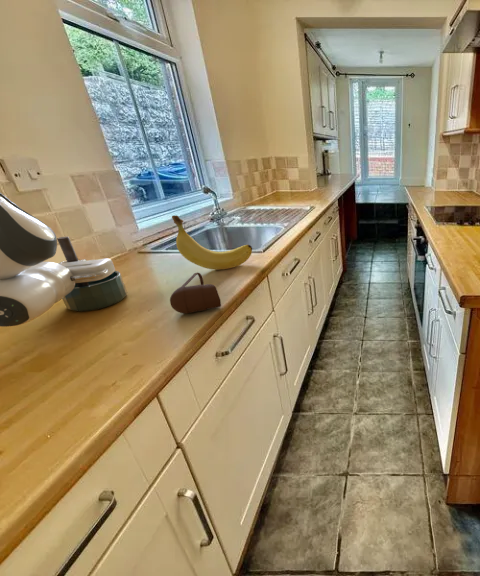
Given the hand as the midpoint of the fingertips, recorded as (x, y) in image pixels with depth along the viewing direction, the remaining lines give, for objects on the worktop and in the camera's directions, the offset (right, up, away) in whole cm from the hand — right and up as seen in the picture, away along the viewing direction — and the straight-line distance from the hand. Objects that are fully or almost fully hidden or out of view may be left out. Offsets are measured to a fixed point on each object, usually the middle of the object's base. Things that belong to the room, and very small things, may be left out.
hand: (75, 263), depth 84 cm
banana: (+24, 0, +29) cm, 38 cm away
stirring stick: (0, -8, +3) cm, 9 cm away
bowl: (+2, -10, +5) cm, 12 cm away
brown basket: (+31, -11, +5) cm, 33 cm away
